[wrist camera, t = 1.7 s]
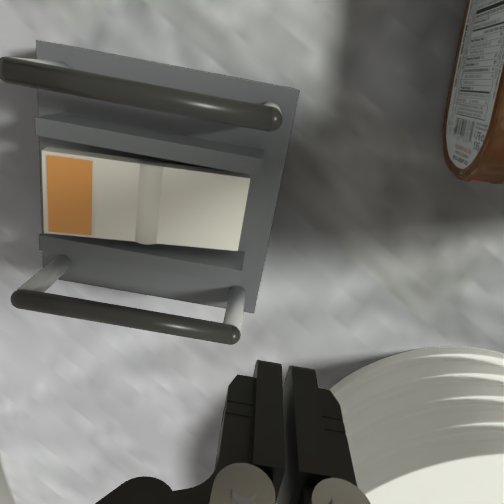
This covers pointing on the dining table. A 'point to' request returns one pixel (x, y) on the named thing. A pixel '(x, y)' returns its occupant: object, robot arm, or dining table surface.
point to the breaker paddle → (141, 200)
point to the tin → (477, 97)
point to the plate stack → (427, 426)
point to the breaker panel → (165, 150)
